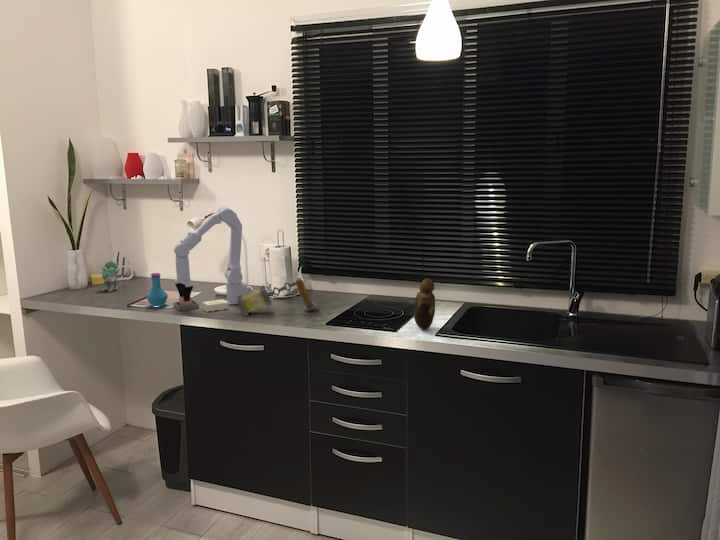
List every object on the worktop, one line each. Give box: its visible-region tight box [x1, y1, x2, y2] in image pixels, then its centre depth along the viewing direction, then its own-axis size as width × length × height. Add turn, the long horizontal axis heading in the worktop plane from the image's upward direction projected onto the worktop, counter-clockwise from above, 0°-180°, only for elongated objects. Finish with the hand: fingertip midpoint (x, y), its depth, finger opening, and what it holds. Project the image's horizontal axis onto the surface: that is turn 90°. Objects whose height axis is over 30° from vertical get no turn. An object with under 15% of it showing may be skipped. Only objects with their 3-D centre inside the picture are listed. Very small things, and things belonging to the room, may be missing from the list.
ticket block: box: [200, 298, 229, 313], centre depth 278 cm, size 10×7×3 cm
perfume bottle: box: [146, 272, 169, 307], centre depth 285 cm, size 9×9×15 cm
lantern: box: [237, 277, 318, 317], centre depth 271 cm, size 8×17×30 cm
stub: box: [178, 296, 193, 306], centre depth 281 cm, size 4×5×4 cm
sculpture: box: [413, 278, 436, 330], centre depth 241 cm, size 13×8×20 cm, turn 167°
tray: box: [173, 299, 200, 312], centre depth 282 cm, size 9×9×2 cm
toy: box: [101, 260, 120, 293], centre depth 318 cm, size 8×9×15 cm
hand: (184, 299), depth 281 cm, fingers open, 6 cm apart
